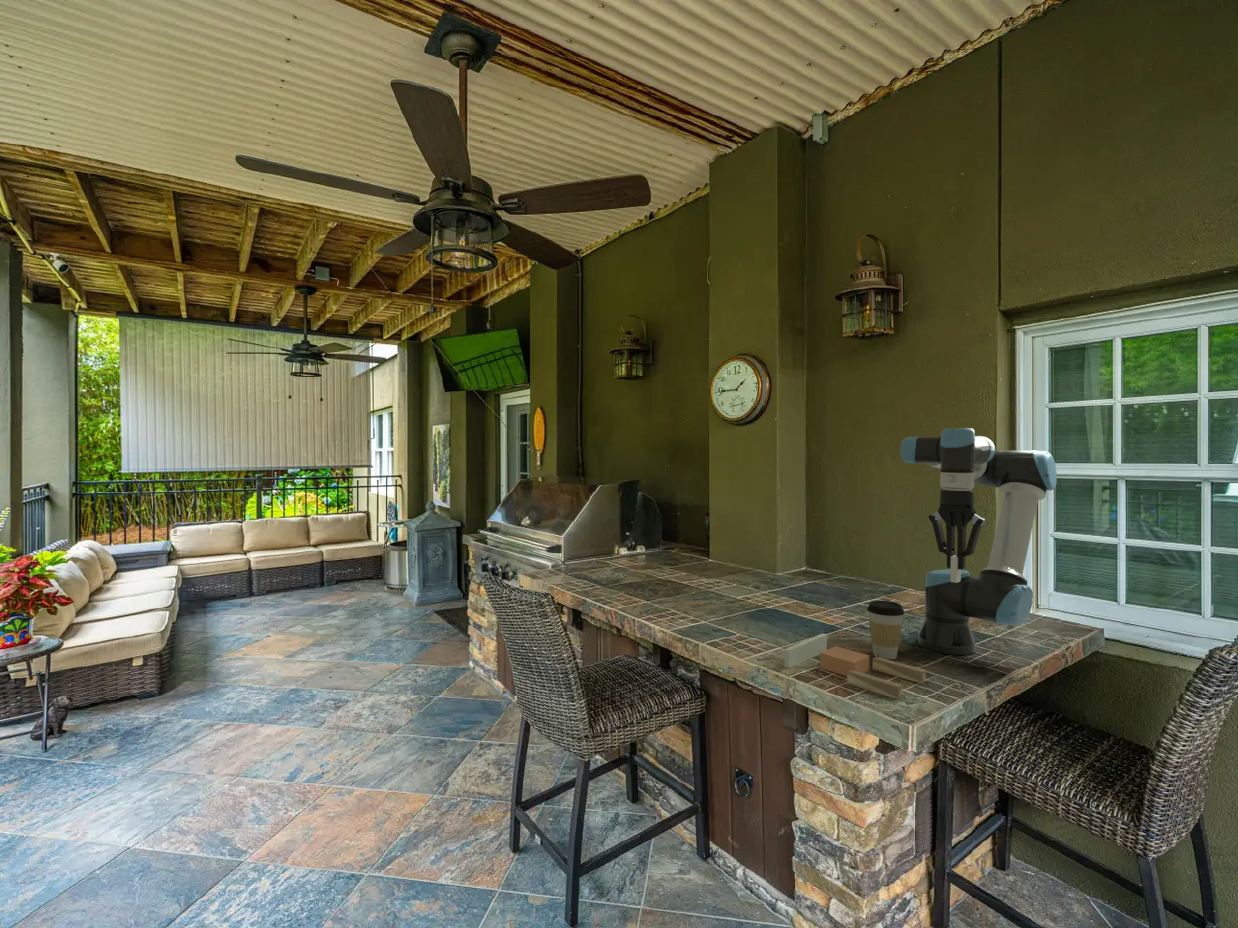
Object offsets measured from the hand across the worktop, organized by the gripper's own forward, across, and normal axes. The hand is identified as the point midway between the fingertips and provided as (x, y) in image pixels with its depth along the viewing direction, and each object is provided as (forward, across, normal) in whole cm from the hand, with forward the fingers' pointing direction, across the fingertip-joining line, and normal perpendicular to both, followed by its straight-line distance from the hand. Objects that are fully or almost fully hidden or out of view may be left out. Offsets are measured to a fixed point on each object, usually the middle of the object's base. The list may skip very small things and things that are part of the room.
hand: (955, 581), depth 153 cm
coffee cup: (+27, -21, +7) cm, 35 cm away
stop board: (+26, -35, -12) cm, 45 cm away
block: (+27, -24, -12) cm, 38 cm away
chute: (+26, -12, -12) cm, 31 cm away
